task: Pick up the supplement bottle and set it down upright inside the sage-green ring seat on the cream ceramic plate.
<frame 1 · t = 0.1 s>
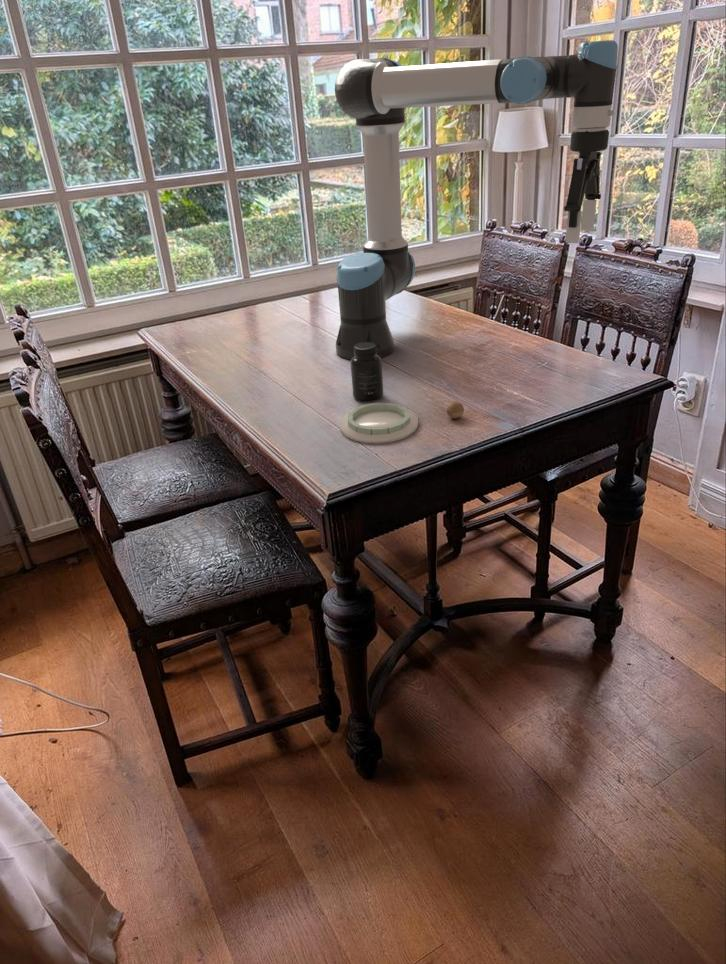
hand: (579, 236, 152), 28 cm above the table, fingers open, 13 cm apart
supplement bottle: (368, 397, 152), on the table
wooden bead: (455, 417, 140), on the table
plate: (379, 425, 139), on the table
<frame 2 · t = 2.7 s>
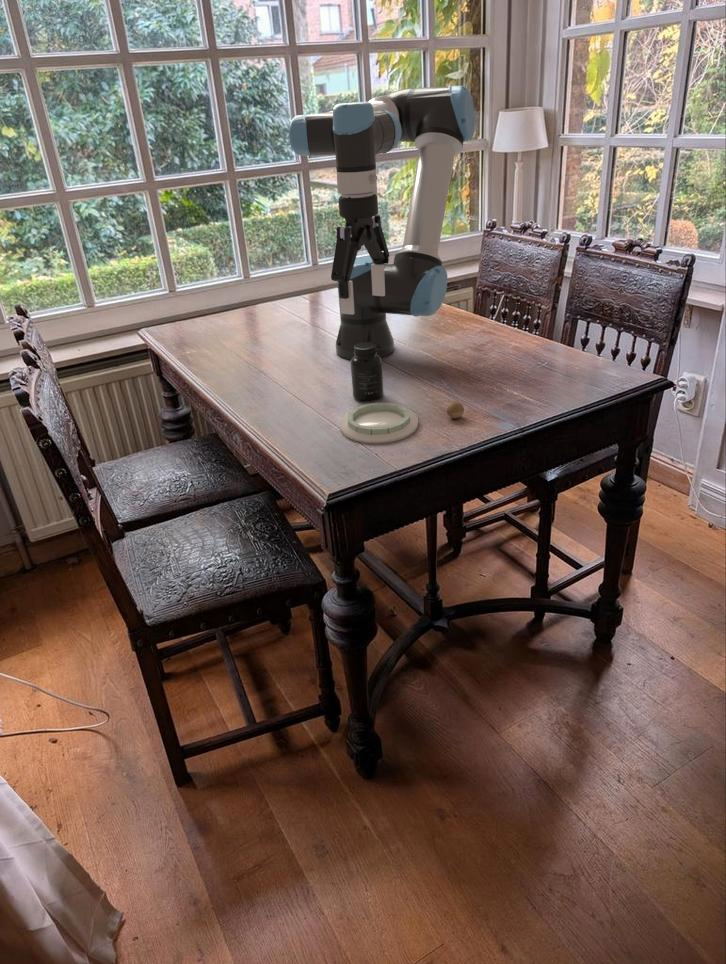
hand: (363, 304, 141), 21 cm above the table, fingers open, 13 cm apart
nothing on the table moved.
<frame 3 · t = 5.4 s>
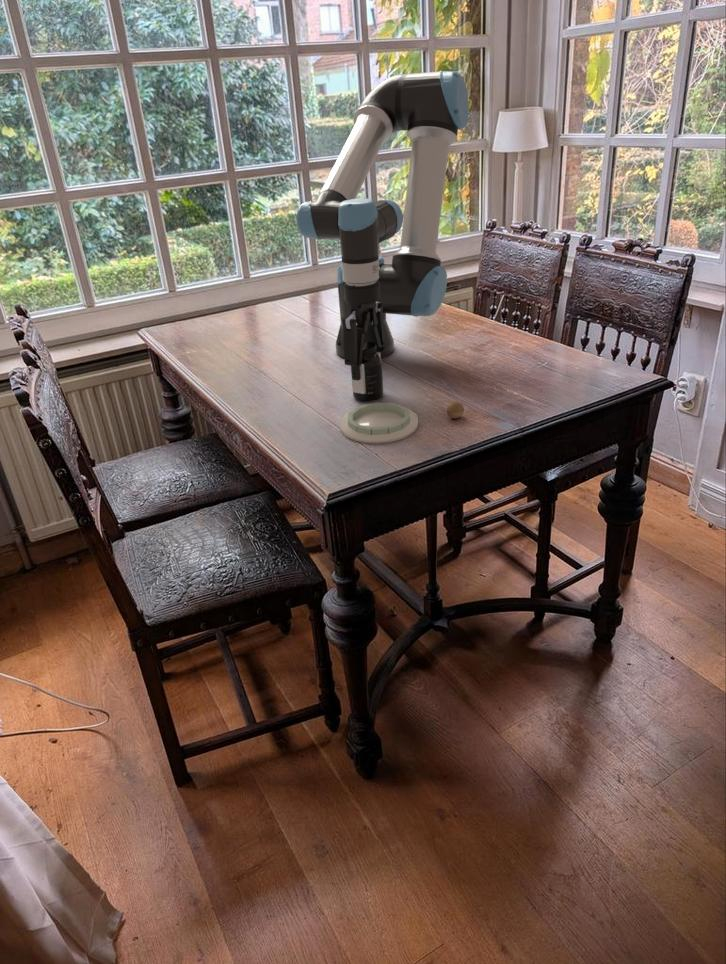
hand: (367, 385, 151), 3 cm above the table, fingers closed on supplement bottle, 7 cm apart
supplement bottle: (368, 397, 152), on the table, touching gripper
everything else where it was.
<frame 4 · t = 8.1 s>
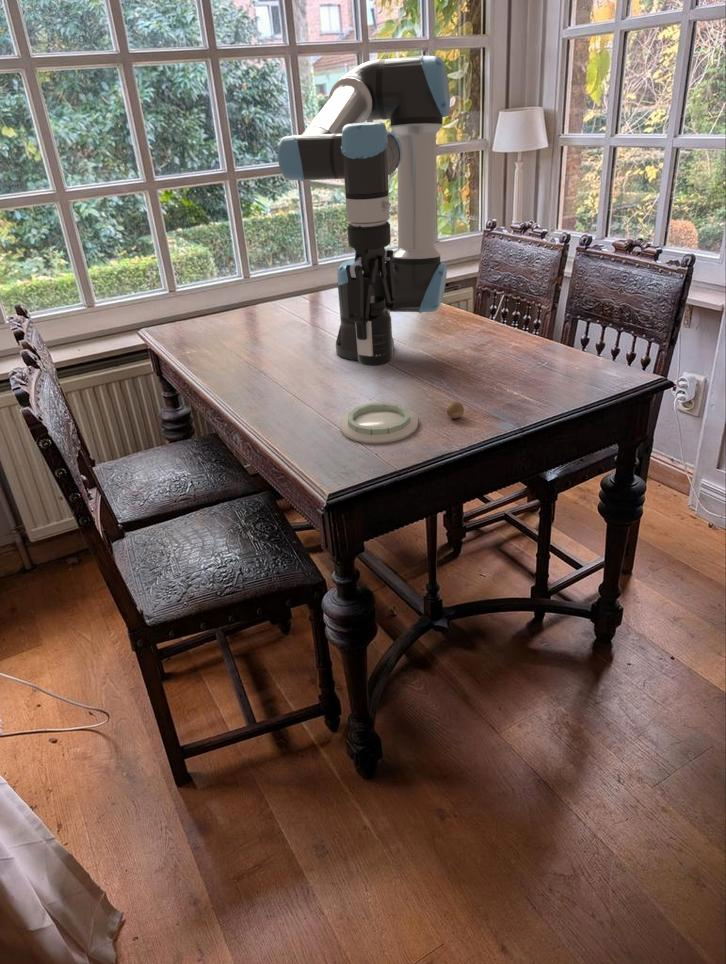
hand: (374, 348, 131), 16 cm above the table, fingers closed on supplement bottle, 7 cm apart
supplement bottle: (375, 361, 132), point 14 cm above the table, touching gripper
everything else where it was.
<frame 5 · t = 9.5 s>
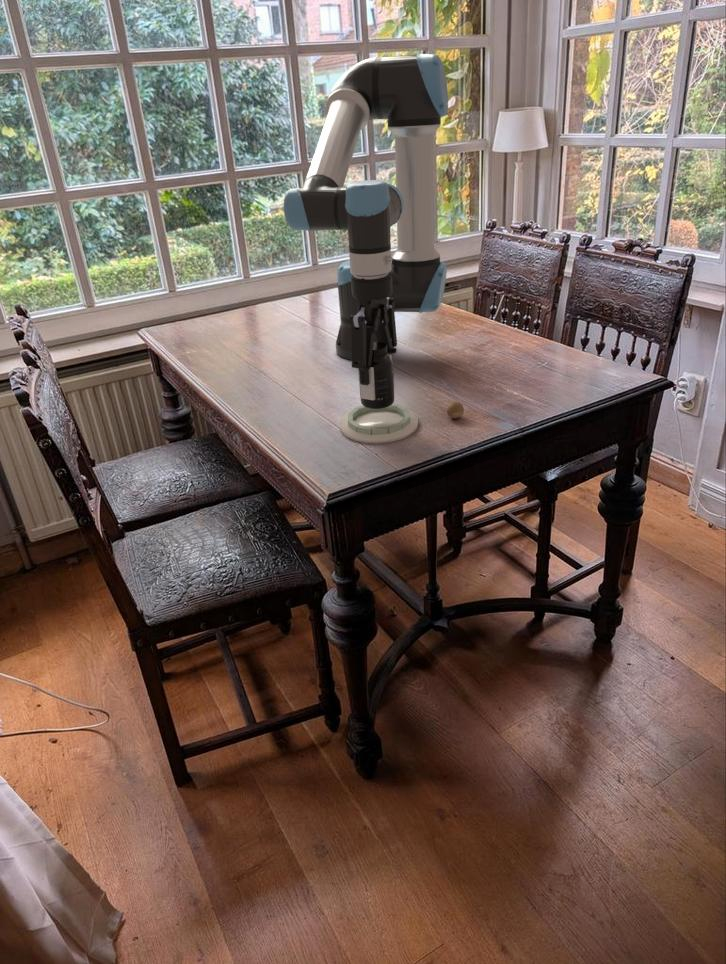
hand: (377, 391, 135), 8 cm above the table, fingers closed on supplement bottle, 7 cm apart
supplement bottle: (377, 403, 136), point 5 cm above the table, touching gripper
everything else where it was.
when the fingers open (5 cm above the table, at t = 10.8 s): supplement bottle drops 1 cm, resting on plate.
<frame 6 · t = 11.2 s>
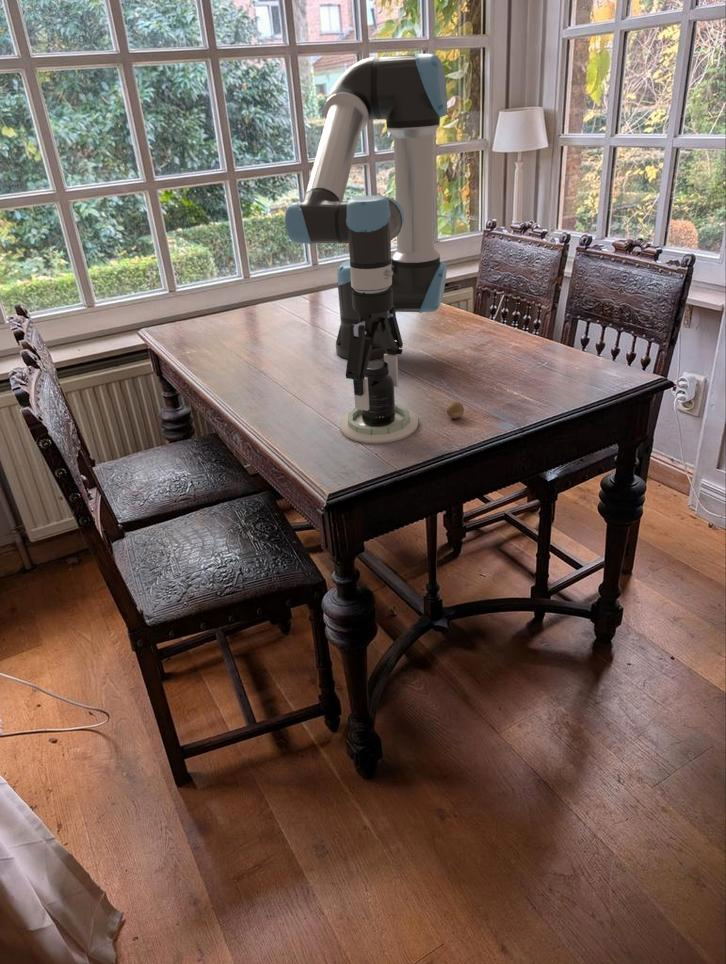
hand: (377, 396, 136), 6 cm above the table, fingers open, 12 cm apart
supplement bottle: (378, 421, 139), point 1 cm above the table, touching plate
everything else where it was.
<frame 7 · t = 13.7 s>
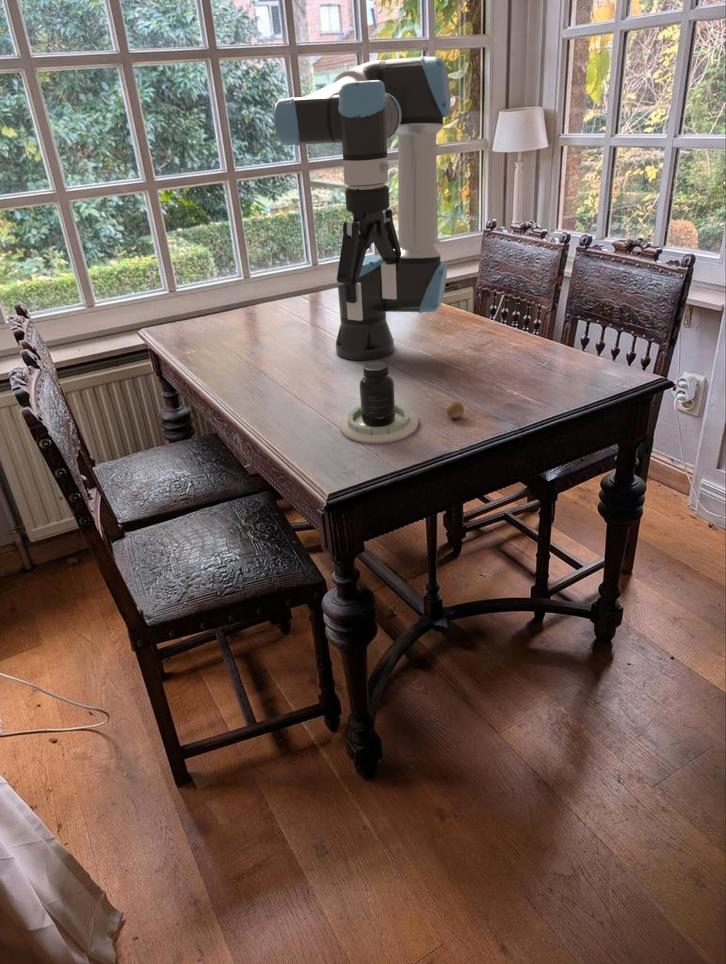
hand: (373, 308, 127), 24 cm above the table, fingers open, 13 cm apart
nothing on the table moved.
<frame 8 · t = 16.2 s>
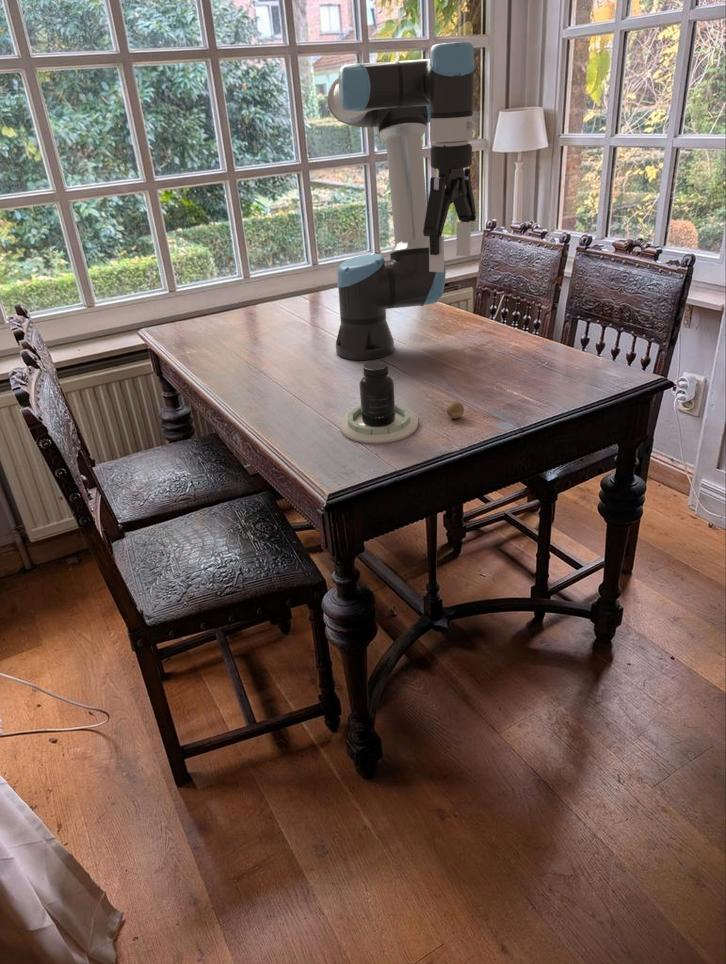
hand: (450, 263, 134), 29 cm above the table, fingers open, 13 cm apart
nothing on the table moved.
at the end: supplement bottle 0.0 cm from the plate (horizontally); supplement bottle tilted 0°; supplement bottle point 0.8 cm above the table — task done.
